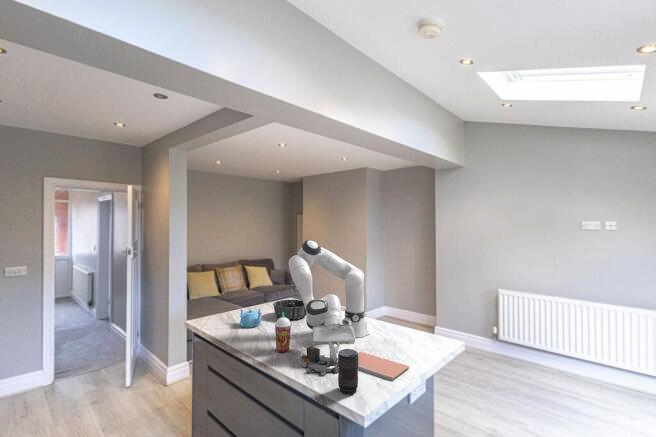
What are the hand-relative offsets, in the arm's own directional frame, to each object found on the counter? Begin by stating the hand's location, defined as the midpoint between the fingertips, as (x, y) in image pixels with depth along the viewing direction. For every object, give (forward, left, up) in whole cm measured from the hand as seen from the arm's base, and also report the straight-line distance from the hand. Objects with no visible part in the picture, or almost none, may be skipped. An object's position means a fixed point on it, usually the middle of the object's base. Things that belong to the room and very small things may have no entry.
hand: (334, 352), depth 151 cm
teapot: (-63, -52, -7) cm, 82 cm away
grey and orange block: (-4, -10, -5) cm, 12 cm away
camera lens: (+22, +5, -7) cm, 24 cm away
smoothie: (-19, -26, -7) cm, 33 cm away
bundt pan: (-84, -28, -7) cm, 89 cm away
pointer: (-8, -14, -6) cm, 17 cm away
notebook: (-1, +19, -7) cm, 20 cm away
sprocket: (0, -5, -6) cm, 8 cm away
